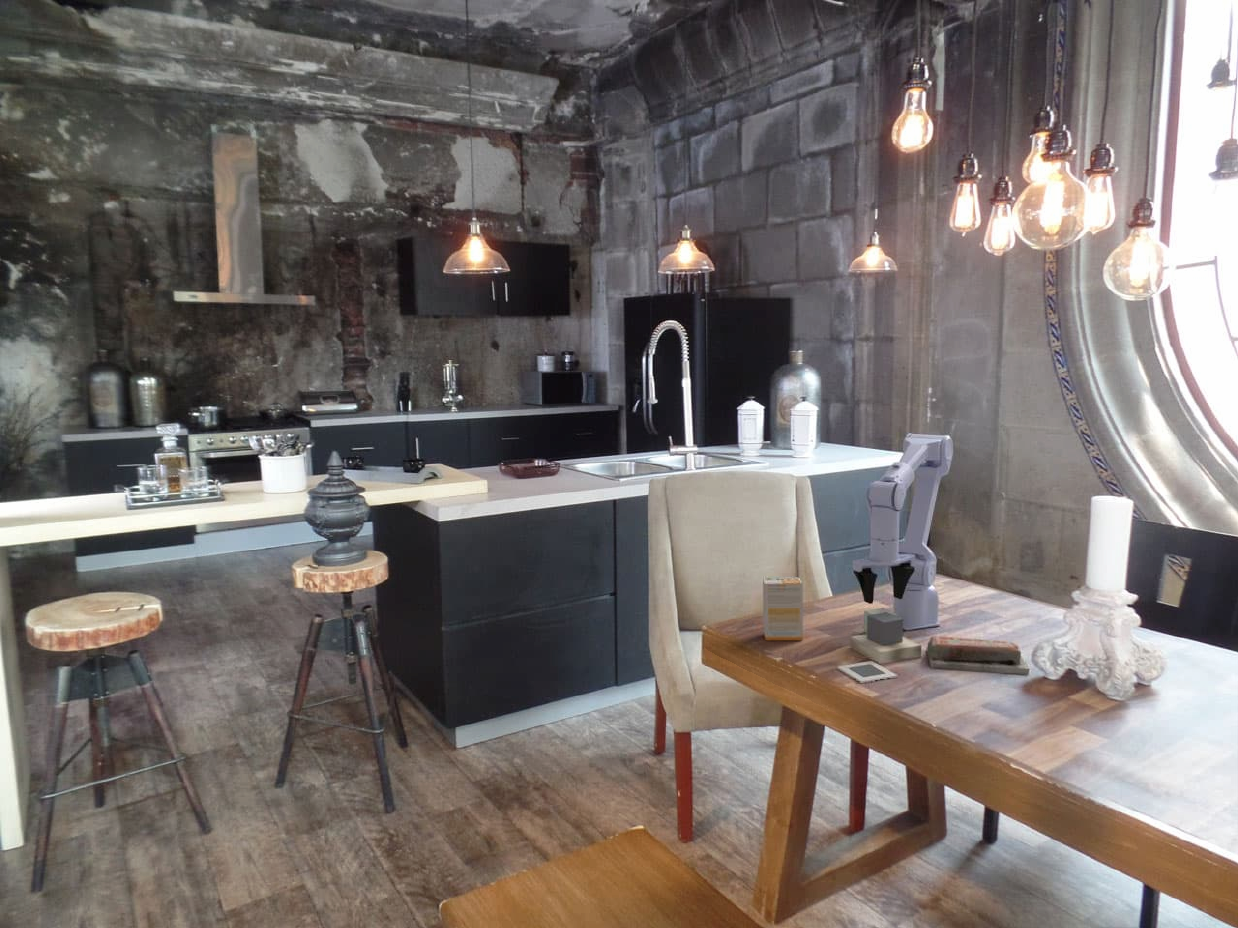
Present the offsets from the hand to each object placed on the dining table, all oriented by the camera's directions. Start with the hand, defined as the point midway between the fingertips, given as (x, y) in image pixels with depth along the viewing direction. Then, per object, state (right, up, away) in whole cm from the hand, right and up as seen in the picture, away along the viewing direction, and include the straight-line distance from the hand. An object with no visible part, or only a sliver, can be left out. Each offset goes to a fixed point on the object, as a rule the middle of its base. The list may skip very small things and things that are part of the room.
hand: (883, 600), depth 178 cm
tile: (-8, -12, -15) cm, 21 cm away
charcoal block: (-1, -8, -4) cm, 9 cm away
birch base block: (-1, -11, -4) cm, 11 cm away
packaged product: (+15, -11, -11) cm, 22 cm away
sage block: (+1, -9, +7) cm, 11 cm away
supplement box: (-20, -9, +6) cm, 23 cm away
